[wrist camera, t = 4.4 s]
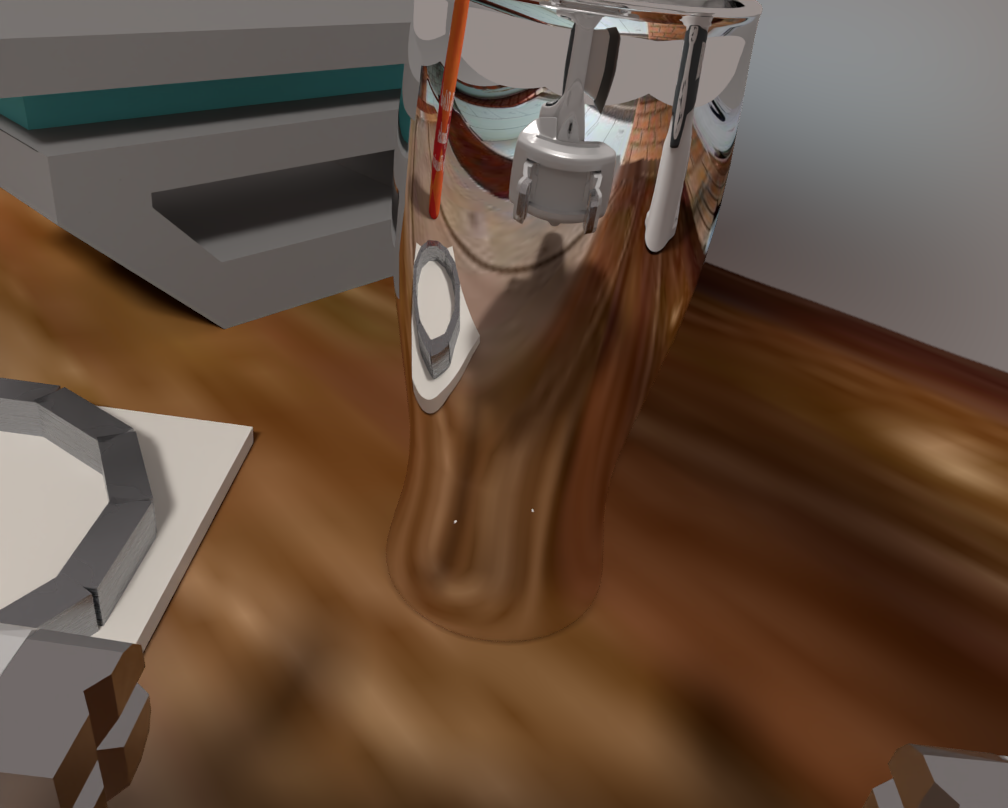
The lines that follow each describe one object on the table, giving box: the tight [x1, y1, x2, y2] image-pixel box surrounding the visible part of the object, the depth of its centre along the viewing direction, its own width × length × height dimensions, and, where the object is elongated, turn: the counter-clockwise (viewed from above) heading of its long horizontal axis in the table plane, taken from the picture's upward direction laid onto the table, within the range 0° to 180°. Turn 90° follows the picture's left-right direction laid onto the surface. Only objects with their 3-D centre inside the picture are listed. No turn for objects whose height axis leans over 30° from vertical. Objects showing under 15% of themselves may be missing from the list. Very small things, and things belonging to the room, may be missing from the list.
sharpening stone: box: [0, 0, 414, 329], centre depth 36 cm, size 25×8×11 cm, turn 139°
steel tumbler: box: [386, 0, 762, 642], centre depth 20 cm, size 7×7×15 cm
